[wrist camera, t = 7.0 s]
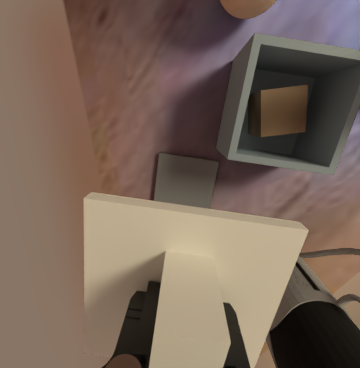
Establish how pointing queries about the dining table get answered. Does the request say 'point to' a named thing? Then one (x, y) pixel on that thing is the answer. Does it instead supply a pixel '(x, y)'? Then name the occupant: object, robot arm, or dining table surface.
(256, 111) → the walnut block
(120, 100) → the dining table surface
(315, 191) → the dining table surface
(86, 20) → the dining table surface
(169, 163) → the slate trivet
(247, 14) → the egg
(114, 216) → the lid
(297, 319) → the glass holder
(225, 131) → the tin box
